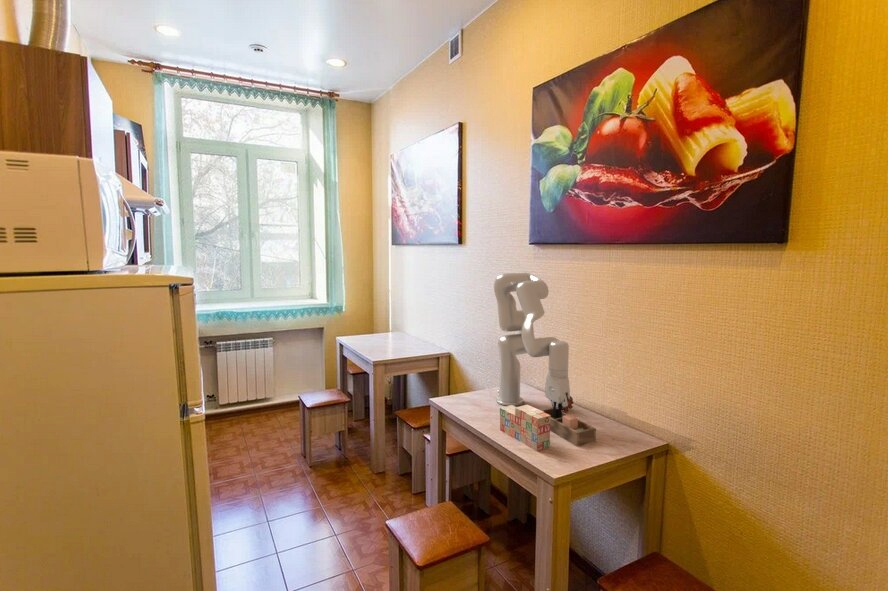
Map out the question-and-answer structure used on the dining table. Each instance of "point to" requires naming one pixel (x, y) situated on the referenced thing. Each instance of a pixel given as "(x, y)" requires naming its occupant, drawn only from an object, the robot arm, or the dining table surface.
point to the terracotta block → (570, 421)
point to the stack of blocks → (526, 425)
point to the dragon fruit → (568, 405)
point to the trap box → (571, 430)
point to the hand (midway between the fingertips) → (557, 417)
